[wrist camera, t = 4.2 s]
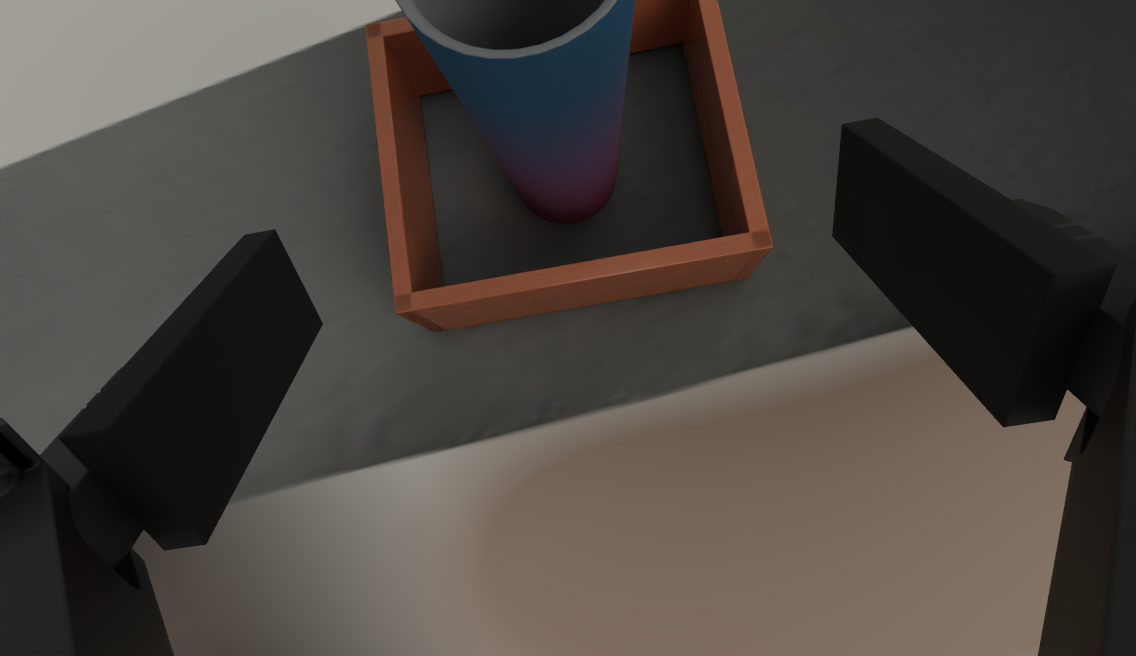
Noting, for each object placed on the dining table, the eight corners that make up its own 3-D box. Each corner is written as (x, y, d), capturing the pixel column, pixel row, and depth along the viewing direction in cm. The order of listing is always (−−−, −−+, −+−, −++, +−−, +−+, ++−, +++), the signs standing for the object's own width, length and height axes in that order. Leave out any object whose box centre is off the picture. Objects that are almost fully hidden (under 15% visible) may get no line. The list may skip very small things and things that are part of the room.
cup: (487, 135, 31) (362, -128, 16) (613, 98, 31) (602, -204, 16) (517, 256, 30) (413, 90, 15) (650, 219, 30) (673, 13, 15)
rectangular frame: (433, 332, 30) (394, 313, 25) (404, 85, 32) (364, 24, 27) (748, 277, 29) (773, 247, 24) (694, 27, 31) (707, -49, 26)
